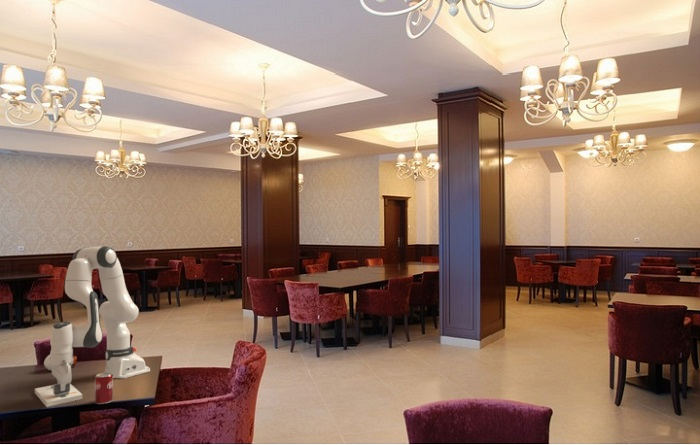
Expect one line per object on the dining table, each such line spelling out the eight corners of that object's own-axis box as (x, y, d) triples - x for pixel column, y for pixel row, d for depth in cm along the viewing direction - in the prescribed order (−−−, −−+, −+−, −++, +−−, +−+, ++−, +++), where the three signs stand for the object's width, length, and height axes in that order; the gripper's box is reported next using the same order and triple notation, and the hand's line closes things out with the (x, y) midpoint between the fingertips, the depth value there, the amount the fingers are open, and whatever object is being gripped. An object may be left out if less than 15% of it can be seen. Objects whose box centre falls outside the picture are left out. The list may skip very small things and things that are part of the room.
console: (68, 386, 233) (68, 381, 233) (82, 398, 214) (82, 394, 215) (34, 392, 223) (34, 388, 223) (46, 407, 205) (46, 402, 205)
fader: (67, 391, 218) (68, 380, 218) (70, 393, 215) (70, 382, 215) (52, 394, 213) (52, 383, 214) (54, 396, 211) (55, 385, 211)
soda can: (93, 405, 206) (94, 378, 206) (95, 400, 213) (95, 373, 213) (112, 403, 209) (112, 375, 209) (113, 397, 216) (113, 371, 216)
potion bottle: (41, 374, 257) (73, 372, 266) (45, 366, 251) (77, 365, 261) (42, 358, 262) (73, 356, 271) (46, 350, 256) (77, 349, 266)
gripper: (75, 361, 209) (75, 393, 209) (64, 353, 224) (64, 382, 224) (59, 364, 205) (58, 396, 204) (48, 355, 220) (48, 385, 219)
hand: (61, 389), depth 214 cm, fingers closed on fader, 2 cm apart
